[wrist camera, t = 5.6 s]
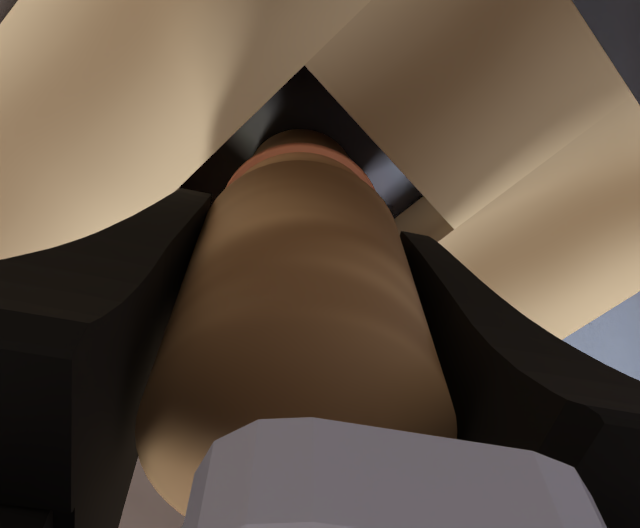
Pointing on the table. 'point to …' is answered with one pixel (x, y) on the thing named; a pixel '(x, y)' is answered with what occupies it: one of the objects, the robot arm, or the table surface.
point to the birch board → (361, 104)
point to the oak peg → (290, 316)
